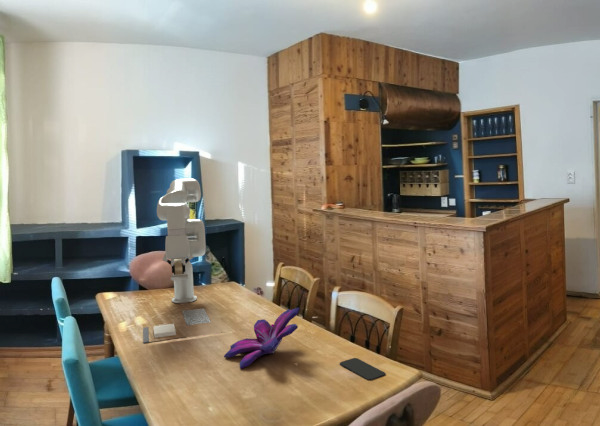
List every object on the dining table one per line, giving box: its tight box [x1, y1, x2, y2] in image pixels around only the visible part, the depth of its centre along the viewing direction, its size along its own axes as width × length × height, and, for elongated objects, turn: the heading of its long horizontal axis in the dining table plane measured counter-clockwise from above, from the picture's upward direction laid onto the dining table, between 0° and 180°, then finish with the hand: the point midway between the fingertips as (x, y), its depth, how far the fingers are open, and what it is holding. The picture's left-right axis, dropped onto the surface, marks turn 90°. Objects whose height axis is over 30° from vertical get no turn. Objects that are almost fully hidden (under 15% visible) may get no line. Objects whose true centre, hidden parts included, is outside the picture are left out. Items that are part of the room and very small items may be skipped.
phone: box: [339, 357, 386, 381], centre depth 141 cm, size 7×1×15 cm
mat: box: [142, 327, 186, 344], centre depth 181 cm, size 18×16×1 cm
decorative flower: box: [223, 307, 300, 369], centre depth 156 cm, size 31×31×10 cm
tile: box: [153, 323, 177, 339], centre depth 179 cm, size 2×8×10 cm
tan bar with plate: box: [170, 259, 188, 282], centre depth 196 cm, size 18×7×6 cm, turn 17°
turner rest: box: [181, 308, 211, 326], centre depth 199 cm, size 22×10×1 cm, turn 19°
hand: (178, 273), depth 197 cm, fingers closed on tan bar with plate, 3 cm apart
